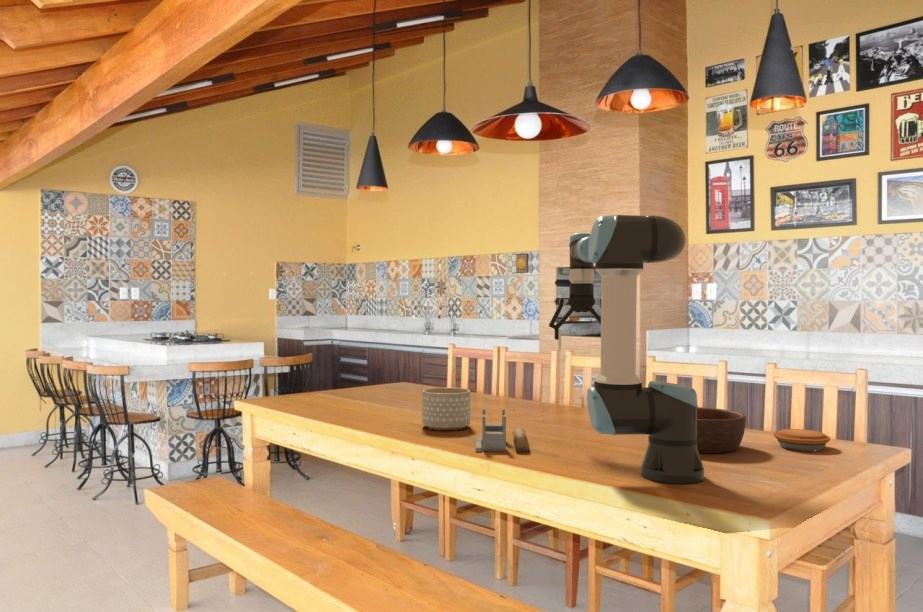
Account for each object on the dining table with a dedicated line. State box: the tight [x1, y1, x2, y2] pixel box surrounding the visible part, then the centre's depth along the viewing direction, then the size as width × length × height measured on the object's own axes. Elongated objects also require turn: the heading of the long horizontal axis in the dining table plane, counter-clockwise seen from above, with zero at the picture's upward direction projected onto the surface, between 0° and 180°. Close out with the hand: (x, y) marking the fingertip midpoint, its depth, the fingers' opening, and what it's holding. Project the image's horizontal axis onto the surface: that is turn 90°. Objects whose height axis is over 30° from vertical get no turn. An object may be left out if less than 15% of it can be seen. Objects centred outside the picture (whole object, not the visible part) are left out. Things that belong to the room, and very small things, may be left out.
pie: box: [772, 428, 831, 452], centre depth 216 cm, size 15×16×5 cm
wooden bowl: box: [697, 406, 747, 454], centre depth 216 cm, size 25×25×10 cm
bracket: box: [475, 407, 507, 453], centre depth 217 cm, size 19×9×10 cm, turn 178°
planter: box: [421, 387, 471, 431], centre depth 247 cm, size 16×16×13 cm
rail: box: [512, 427, 530, 454], centre depth 217 cm, size 19×4×4 cm, turn 178°
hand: (581, 350), depth 227 cm, fingers open, 13 cm apart
